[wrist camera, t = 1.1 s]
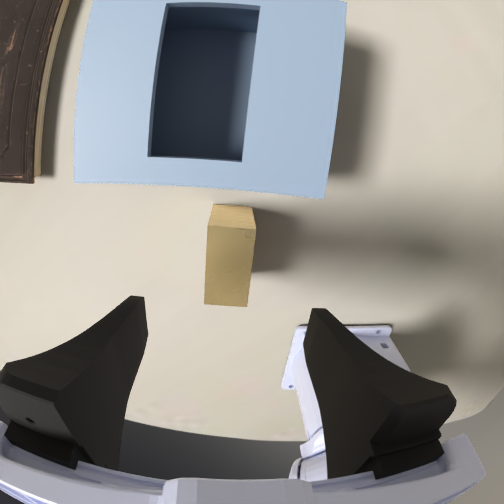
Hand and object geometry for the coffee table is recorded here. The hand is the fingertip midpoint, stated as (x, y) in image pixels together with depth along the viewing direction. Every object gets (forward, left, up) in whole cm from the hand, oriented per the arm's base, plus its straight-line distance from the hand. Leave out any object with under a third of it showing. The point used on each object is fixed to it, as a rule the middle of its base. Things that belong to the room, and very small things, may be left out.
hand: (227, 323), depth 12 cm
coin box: (+2, -10, -9) cm, 14 cm away
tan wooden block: (0, 0, -10) cm, 10 cm away
